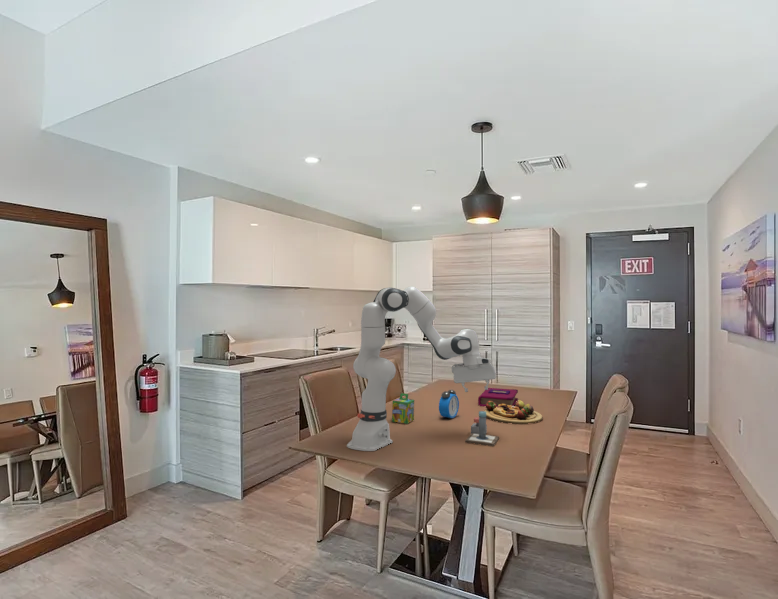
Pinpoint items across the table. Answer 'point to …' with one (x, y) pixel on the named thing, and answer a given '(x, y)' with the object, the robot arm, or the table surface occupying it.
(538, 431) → the table surface
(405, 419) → the chalk box
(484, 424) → the joystick
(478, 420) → the button
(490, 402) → the wooden plate with food
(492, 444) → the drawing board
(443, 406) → the alarm clock
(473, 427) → the button box
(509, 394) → the book
